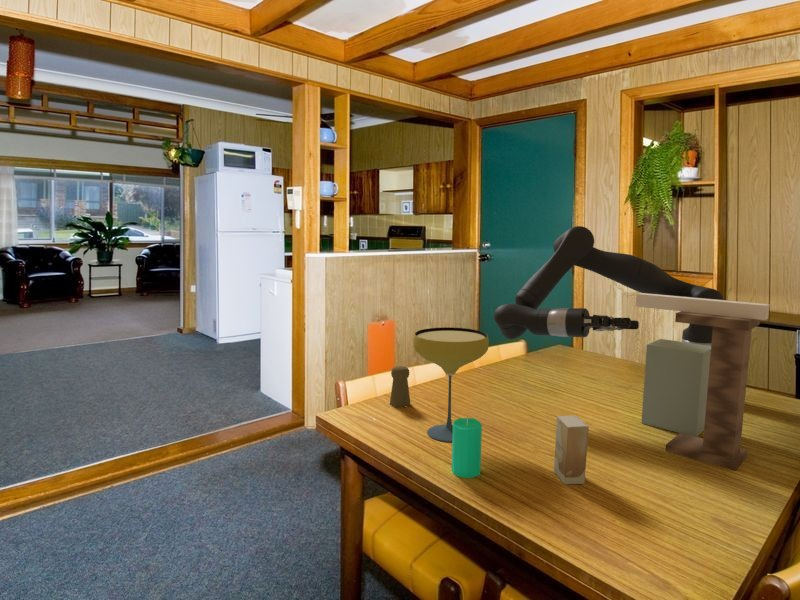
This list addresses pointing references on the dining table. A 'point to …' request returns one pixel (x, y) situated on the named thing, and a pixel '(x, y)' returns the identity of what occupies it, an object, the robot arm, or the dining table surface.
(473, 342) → the cocktail glass
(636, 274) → the robot arm
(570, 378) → the dining table surface
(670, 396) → the pale grey-green block
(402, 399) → the pepper mill
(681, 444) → the walnut stand
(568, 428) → the skincare box
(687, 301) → the cream bar
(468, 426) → the candle
